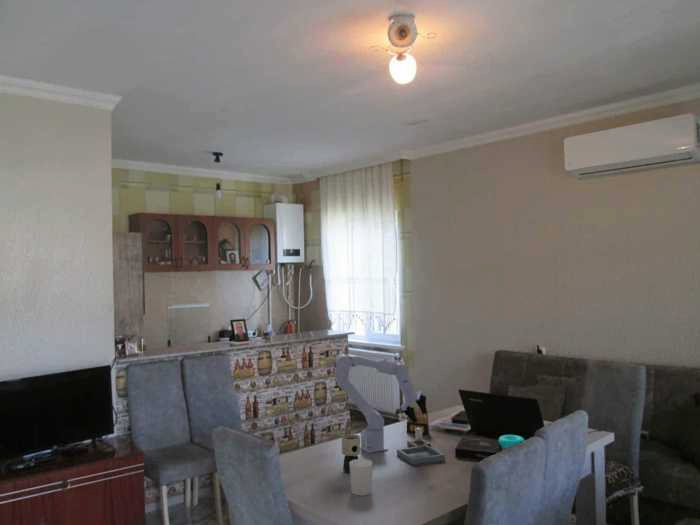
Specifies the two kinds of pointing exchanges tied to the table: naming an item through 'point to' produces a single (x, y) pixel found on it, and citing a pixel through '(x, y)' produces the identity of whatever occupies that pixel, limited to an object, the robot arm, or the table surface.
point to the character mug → (350, 449)
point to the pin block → (413, 444)
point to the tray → (420, 455)
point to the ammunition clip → (418, 423)
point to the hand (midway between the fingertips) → (420, 417)
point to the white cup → (361, 476)
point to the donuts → (510, 440)
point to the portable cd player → (477, 448)
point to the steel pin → (418, 435)
